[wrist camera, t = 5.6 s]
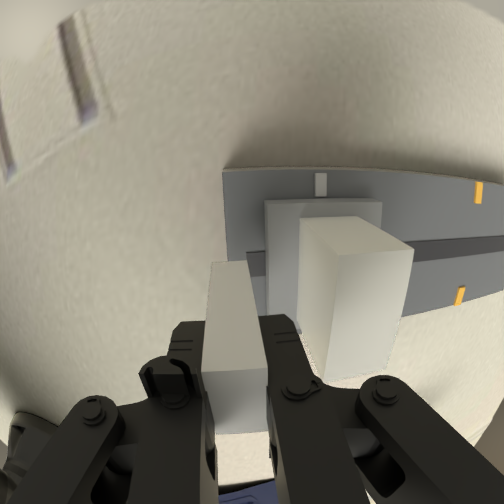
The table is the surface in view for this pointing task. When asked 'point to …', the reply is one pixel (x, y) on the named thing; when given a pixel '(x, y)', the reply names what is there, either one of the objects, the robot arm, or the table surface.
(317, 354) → the fader tab
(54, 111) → the table surface
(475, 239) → the console
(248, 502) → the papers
